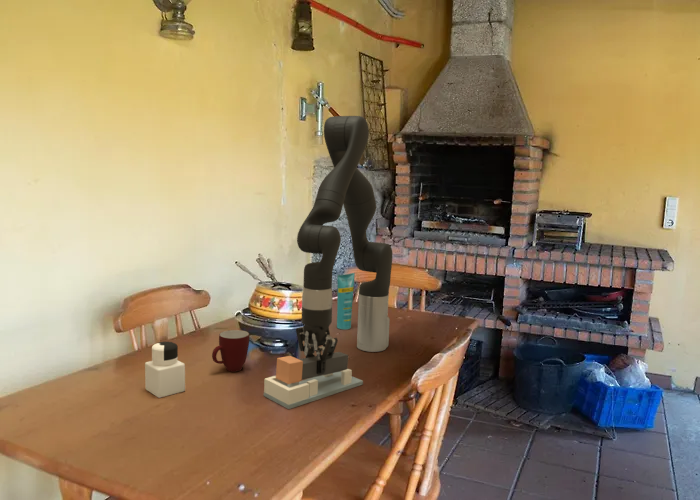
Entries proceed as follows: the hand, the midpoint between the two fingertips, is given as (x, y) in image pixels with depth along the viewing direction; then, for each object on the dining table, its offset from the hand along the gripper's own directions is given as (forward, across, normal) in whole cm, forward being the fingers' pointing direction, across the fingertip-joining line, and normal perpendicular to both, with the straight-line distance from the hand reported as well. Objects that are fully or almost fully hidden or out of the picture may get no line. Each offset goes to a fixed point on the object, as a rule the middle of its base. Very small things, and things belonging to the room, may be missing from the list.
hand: (315, 371), depth 150 cm
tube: (+5, +36, -44) cm, 57 cm away
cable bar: (+1, 0, 0) cm, 1 cm away
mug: (+5, +25, +9) cm, 27 cm away
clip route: (+5, 0, 0) cm, 5 cm away
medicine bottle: (+5, +23, +29) cm, 37 cm away
